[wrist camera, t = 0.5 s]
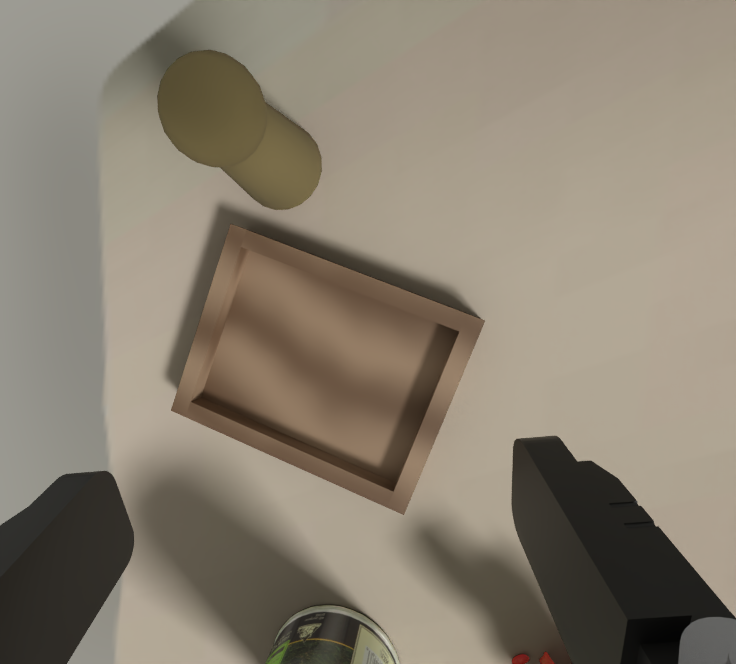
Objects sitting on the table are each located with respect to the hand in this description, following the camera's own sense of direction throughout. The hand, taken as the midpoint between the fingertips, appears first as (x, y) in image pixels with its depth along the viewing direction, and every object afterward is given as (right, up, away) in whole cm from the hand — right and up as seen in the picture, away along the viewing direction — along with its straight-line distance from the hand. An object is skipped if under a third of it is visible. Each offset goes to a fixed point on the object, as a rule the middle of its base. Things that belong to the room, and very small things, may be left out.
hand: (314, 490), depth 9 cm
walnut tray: (-2, +1, +22) cm, 23 cm away
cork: (-5, +15, +22) cm, 27 cm away
